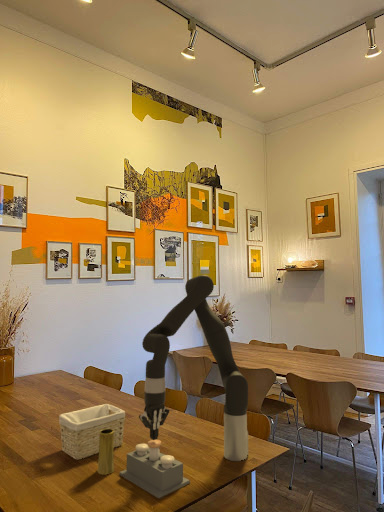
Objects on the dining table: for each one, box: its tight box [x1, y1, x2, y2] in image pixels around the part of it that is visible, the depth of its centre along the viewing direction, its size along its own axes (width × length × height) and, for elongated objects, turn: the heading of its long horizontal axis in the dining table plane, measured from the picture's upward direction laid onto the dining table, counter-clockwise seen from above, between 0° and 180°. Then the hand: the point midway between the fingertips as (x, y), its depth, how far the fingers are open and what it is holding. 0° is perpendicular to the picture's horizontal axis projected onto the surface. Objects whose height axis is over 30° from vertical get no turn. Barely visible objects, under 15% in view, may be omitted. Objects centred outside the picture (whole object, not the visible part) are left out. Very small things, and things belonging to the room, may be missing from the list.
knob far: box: [135, 443, 149, 456], centre depth 139 cm, size 5×5×8 cm
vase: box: [97, 429, 115, 476], centre depth 140 cm, size 6×6×14 cm
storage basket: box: [58, 403, 126, 461], centre depth 161 cm, size 24×16×15 cm
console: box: [119, 450, 191, 499], centre depth 134 cm, size 14×22×7 cm, turn 45°
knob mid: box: [147, 439, 162, 462], centre depth 135 cm, size 5×5×8 cm
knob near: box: [160, 454, 175, 469], centre depth 129 cm, size 5×5×8 cm
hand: (154, 439), depth 135 cm, fingers closed
